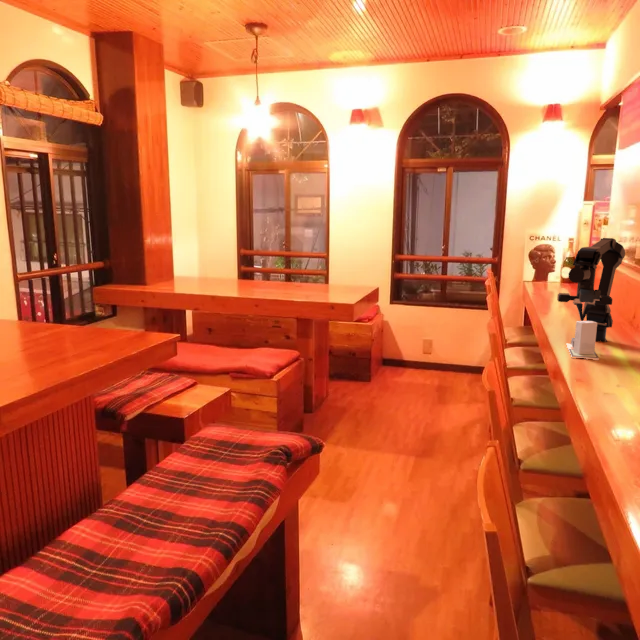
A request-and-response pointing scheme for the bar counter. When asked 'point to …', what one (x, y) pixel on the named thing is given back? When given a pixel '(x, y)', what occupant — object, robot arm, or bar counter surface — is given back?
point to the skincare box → (585, 337)
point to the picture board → (573, 354)
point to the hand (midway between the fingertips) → (581, 320)
